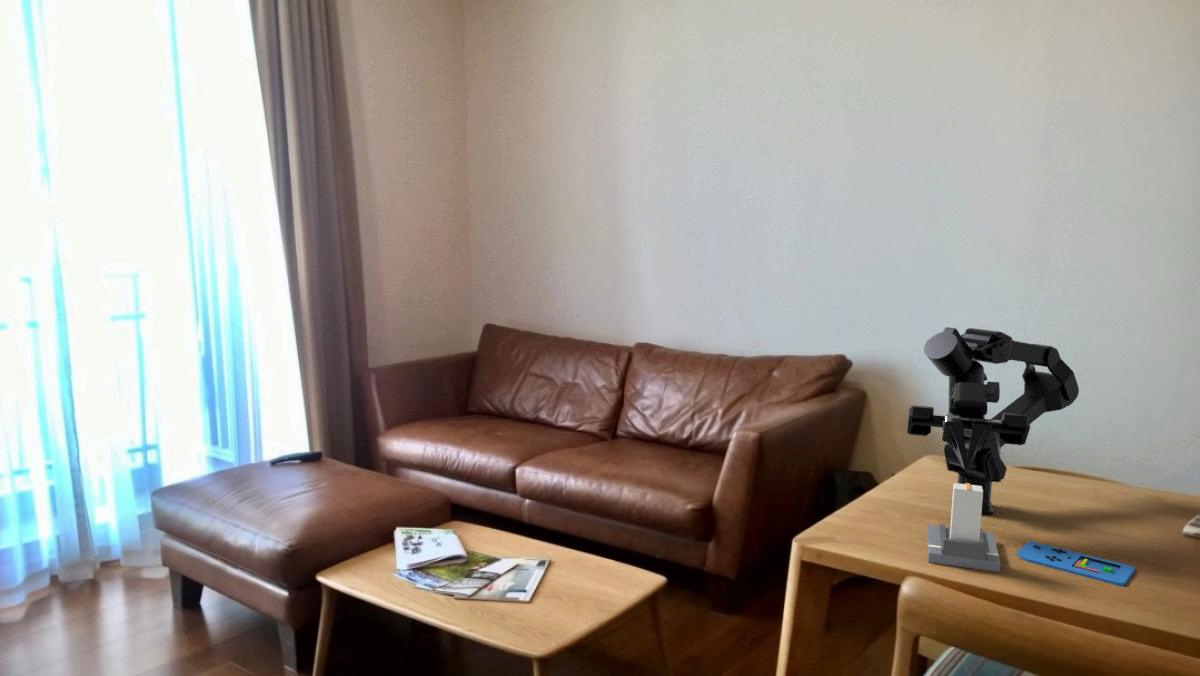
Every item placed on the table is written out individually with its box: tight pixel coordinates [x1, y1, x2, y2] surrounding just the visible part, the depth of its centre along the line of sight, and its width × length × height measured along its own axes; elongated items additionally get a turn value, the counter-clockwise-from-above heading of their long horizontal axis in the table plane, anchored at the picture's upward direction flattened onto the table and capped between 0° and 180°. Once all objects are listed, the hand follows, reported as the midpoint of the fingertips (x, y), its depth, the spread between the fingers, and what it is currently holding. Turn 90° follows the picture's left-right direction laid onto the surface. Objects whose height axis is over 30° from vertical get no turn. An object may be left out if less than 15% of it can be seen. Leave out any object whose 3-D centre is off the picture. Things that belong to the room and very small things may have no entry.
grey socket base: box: [926, 523, 1001, 573], centre depth 132 cm, size 13×10×4 cm
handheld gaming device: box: [1016, 540, 1136, 587], centre depth 128 cm, size 8×1×15 cm
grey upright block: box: [950, 482, 983, 543], centre depth 128 cm, size 3×4×10 cm
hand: (966, 468), depth 137 cm, fingers closed
